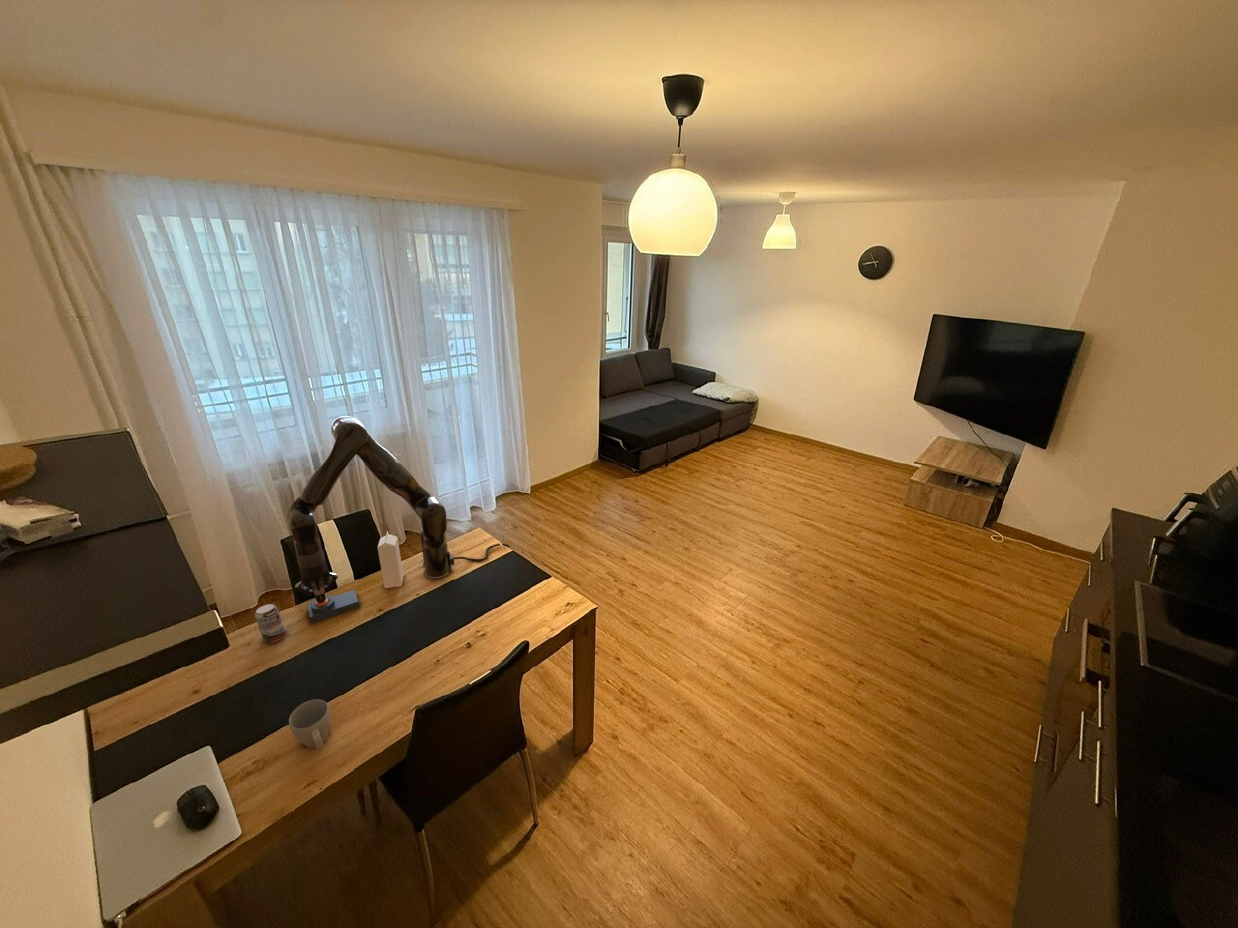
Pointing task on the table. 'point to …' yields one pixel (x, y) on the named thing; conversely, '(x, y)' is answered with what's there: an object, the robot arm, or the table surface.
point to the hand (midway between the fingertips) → (321, 601)
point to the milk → (390, 561)
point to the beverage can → (270, 623)
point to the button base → (333, 606)
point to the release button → (322, 603)
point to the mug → (311, 723)
